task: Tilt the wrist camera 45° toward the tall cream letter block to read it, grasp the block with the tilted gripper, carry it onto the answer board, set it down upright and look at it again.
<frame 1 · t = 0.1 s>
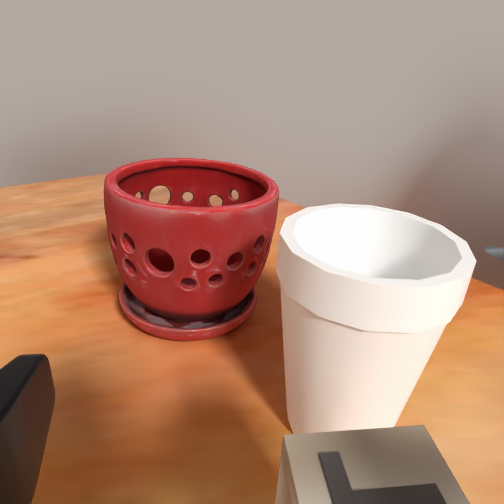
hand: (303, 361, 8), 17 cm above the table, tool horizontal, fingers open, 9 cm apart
foam cup: (336, 422, 28), on the table
plant pot: (194, 309, 38), on the table
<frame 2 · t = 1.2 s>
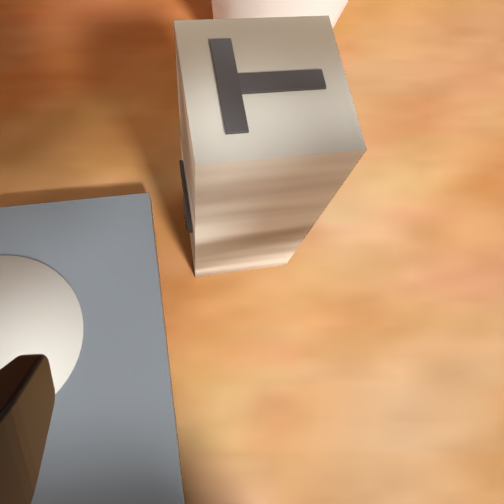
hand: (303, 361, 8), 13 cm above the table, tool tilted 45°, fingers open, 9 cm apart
answer board: (29, 358, 19), on the table
letter block: (233, 228, 22), on the table
foam cup: (266, 41, 26), on the table
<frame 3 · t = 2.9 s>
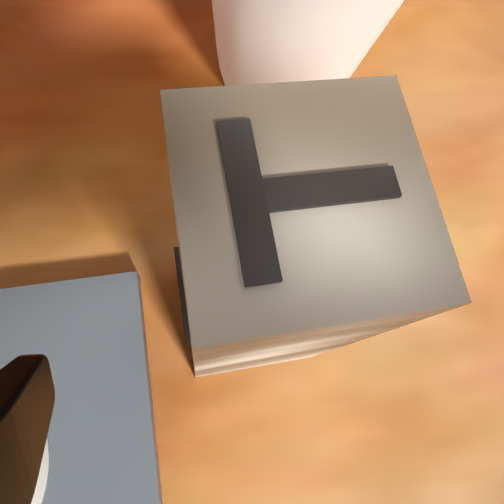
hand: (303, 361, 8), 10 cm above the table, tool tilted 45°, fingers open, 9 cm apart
letter block: (243, 311, 18), on the table
foam cup: (280, 71, 22), on the table
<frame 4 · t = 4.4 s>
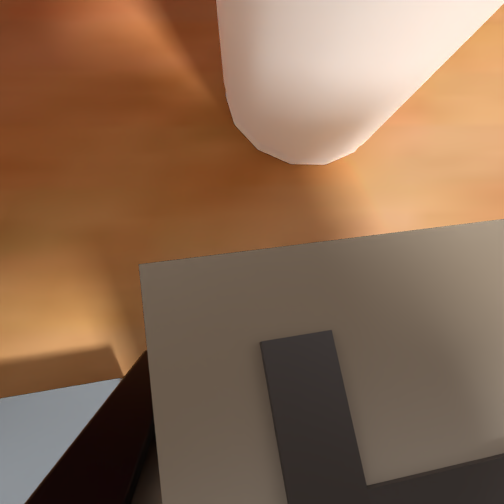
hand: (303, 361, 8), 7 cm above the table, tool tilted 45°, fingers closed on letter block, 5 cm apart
letter block: (258, 421, 14), on the table, touching gripper
foam cup: (300, 101, 18), on the table
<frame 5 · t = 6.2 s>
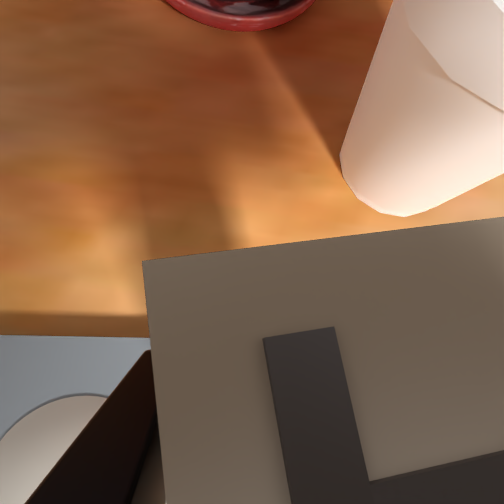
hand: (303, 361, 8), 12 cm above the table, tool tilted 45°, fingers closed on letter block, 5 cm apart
letter block: (259, 420, 14), point 6 cm above the table, touching gripper
foam cup: (392, 166, 24), on the table
when the fingers open (9 cm above the table, at t = 8.1 s): letter block stays where it is, resting on answer board.
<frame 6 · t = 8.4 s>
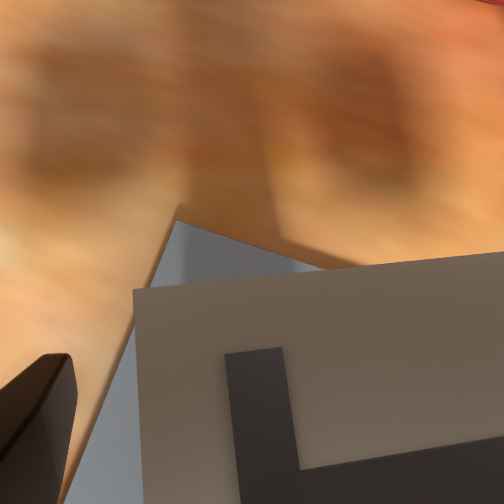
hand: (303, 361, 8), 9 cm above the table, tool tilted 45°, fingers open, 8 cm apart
answer board: (268, 453, 15), on the table
letter block: (254, 418, 15), point 1 cm above the table, touching answer board
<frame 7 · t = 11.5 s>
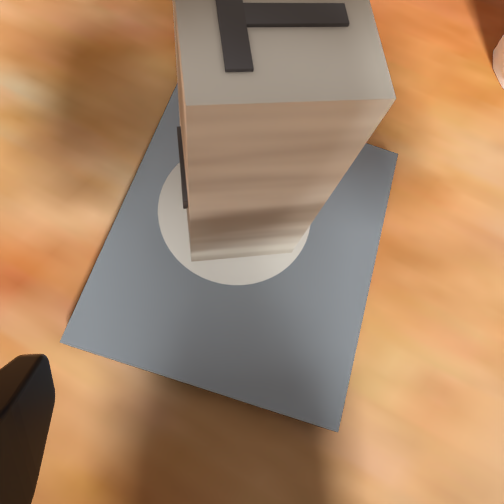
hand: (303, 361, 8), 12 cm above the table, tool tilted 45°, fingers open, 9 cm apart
answer board: (247, 243, 21), on the table
letter block: (236, 210, 20), point 1 cm above the table, touching answer board
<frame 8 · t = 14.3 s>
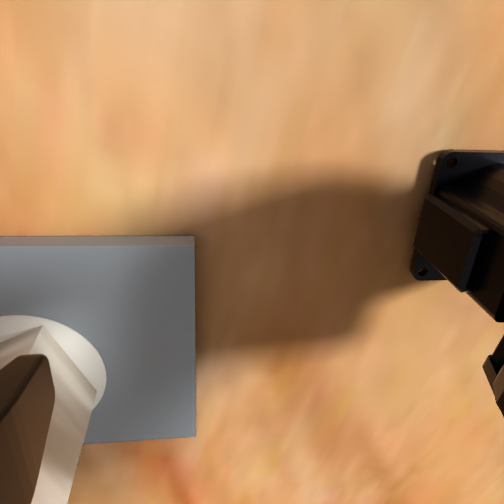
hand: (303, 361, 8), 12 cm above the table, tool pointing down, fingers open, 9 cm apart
answer board: (53, 345, 21), on the table
letter block: (28, 377, 21), point 1 cm above the table, touching answer board
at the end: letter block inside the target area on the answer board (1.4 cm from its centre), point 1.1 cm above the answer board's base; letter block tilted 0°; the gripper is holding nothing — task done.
